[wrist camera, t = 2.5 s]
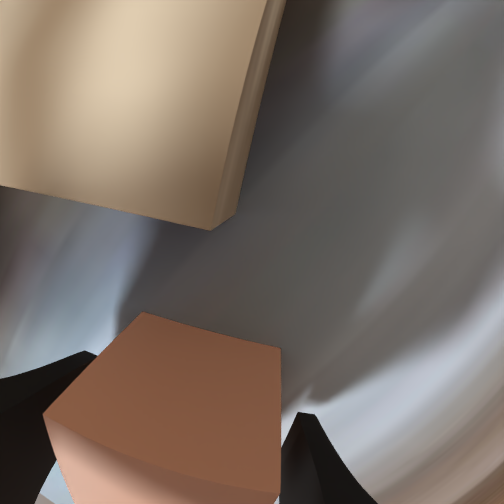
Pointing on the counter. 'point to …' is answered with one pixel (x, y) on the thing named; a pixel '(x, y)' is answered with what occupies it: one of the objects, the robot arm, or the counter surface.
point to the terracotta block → (172, 419)
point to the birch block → (134, 101)
